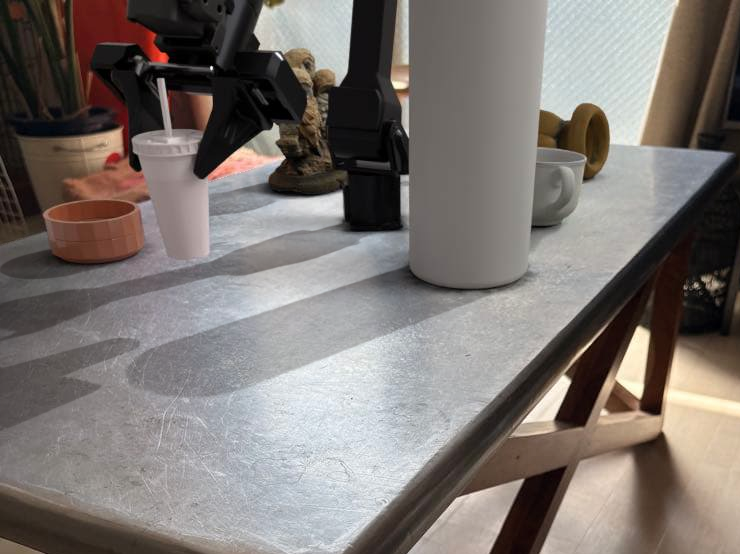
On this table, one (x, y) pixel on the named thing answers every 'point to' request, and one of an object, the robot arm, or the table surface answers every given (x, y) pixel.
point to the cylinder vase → (473, 138)
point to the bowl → (95, 230)
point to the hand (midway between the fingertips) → (165, 172)
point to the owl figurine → (307, 134)
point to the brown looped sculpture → (578, 135)
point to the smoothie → (175, 185)
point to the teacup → (556, 185)
